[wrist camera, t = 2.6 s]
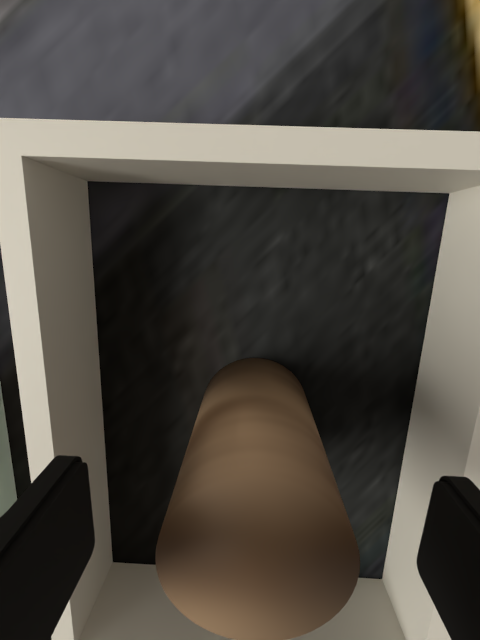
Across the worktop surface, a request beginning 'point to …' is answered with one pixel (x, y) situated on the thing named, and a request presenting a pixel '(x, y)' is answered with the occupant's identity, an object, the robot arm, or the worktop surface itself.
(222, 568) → the wooden cylinder
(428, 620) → the white rectangular frame
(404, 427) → the worktop surface
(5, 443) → the tray
